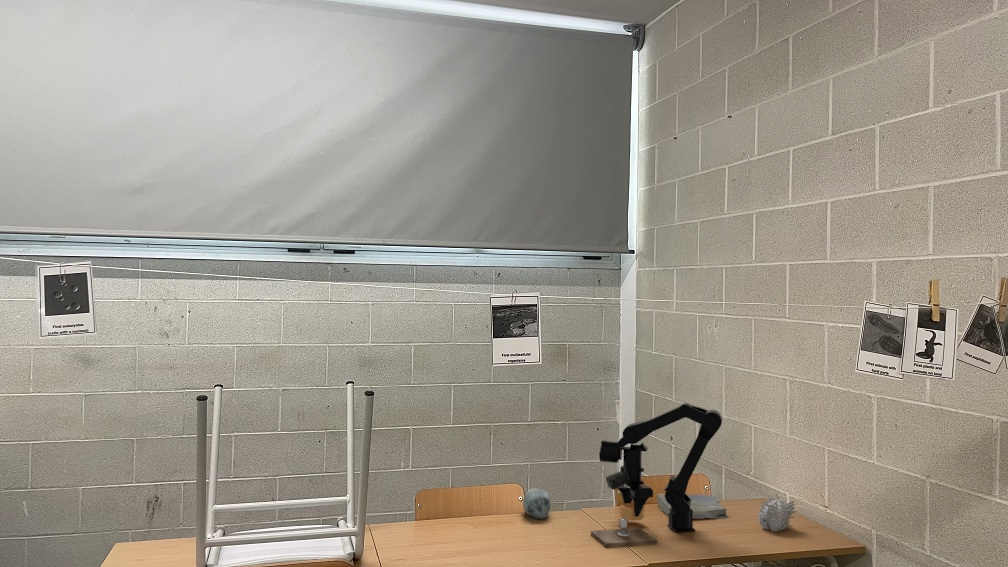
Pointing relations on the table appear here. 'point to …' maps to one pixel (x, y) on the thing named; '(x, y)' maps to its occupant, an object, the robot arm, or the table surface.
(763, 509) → the sea urchin
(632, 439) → the robot arm
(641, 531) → the shelf board
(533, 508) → the grey rounded lump
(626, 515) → the tan wooden ring
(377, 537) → the table surface
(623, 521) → the hook post
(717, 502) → the fossil
